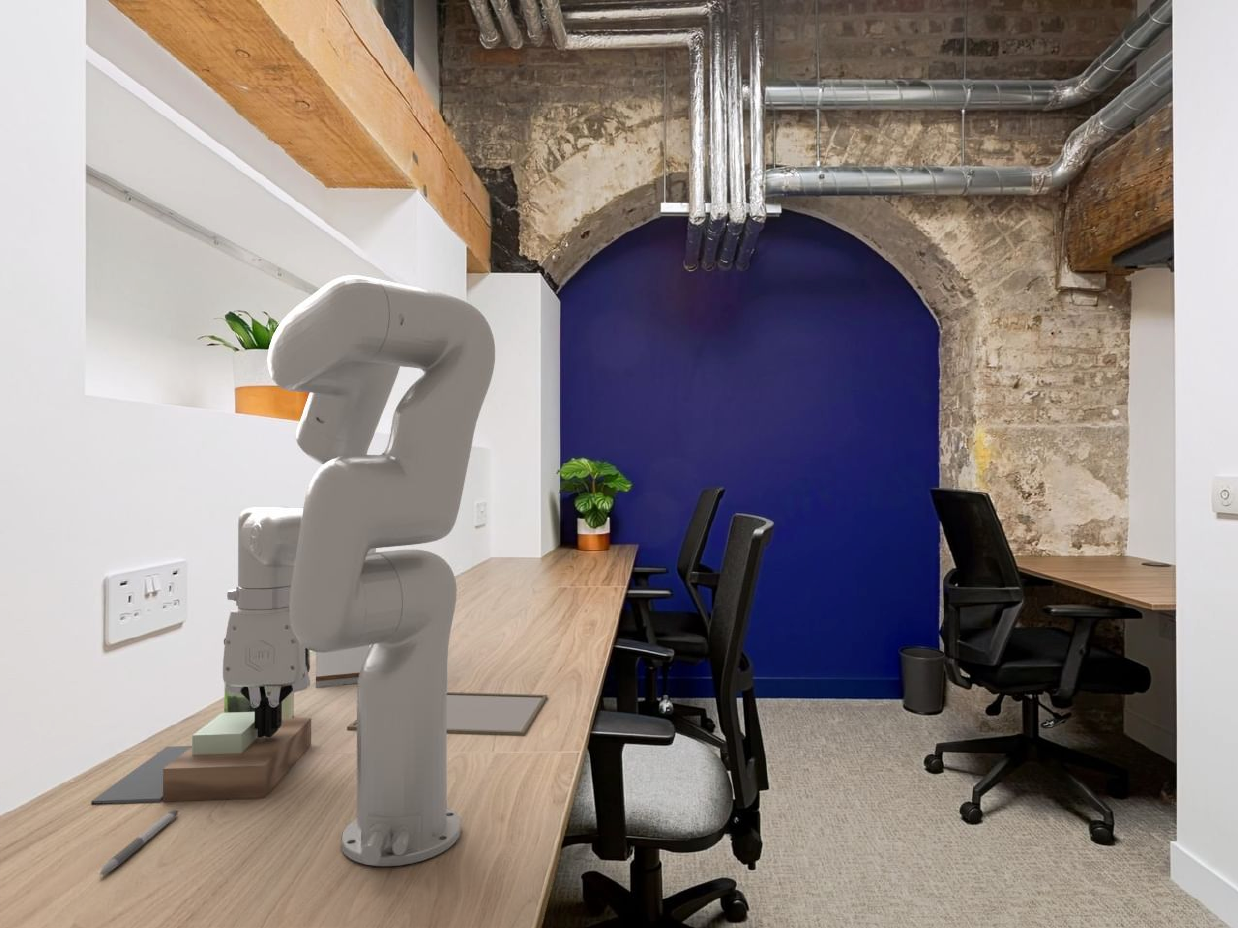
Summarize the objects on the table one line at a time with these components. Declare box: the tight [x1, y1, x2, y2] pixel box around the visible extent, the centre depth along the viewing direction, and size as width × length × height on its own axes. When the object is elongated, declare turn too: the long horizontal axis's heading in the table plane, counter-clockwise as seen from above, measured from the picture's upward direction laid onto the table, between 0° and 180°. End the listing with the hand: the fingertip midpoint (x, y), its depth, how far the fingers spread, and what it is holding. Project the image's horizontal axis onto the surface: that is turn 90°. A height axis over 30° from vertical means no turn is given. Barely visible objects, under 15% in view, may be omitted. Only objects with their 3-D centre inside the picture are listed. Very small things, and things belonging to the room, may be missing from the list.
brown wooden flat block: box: [162, 717, 312, 803], centre depth 102 cm, size 18×12×4 cm, turn 5°
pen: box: [99, 808, 179, 875], centre depth 82 cm, size 1×14×1 cm, turn 3°
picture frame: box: [346, 691, 548, 737], centre depth 126 cm, size 19×1×28 cm
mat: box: [90, 745, 192, 805], centre depth 101 cm, size 18×8×1 cm, turn 5°
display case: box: [315, 548, 377, 688], centre depth 148 cm, size 11×11×35 cm
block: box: [191, 712, 258, 755], centre depth 102 cm, size 9×6×2 cm, turn 6°
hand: (268, 733), depth 102 cm, fingers closed
